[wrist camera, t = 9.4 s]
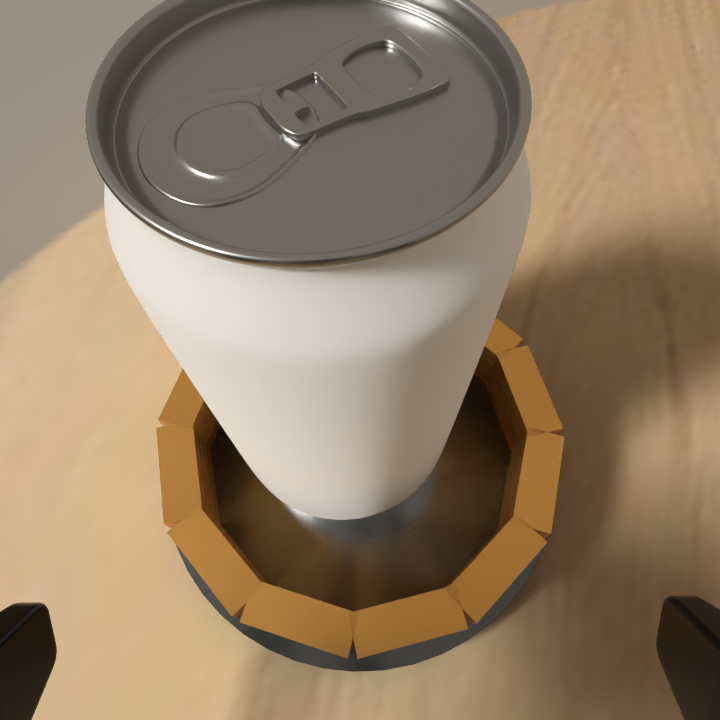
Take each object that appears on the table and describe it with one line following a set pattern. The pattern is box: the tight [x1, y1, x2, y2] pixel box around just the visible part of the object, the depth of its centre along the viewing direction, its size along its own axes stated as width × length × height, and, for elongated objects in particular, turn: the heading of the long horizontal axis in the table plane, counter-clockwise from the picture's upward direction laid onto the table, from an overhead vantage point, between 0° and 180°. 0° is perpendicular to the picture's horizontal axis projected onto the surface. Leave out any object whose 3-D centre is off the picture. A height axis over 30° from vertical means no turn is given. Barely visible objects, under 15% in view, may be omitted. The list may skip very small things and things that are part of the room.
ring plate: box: [157, 318, 565, 671], centre depth 17 cm, size 12×12×3 cm
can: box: [86, 0, 532, 520], centre depth 12 cm, size 6×6×12 cm
